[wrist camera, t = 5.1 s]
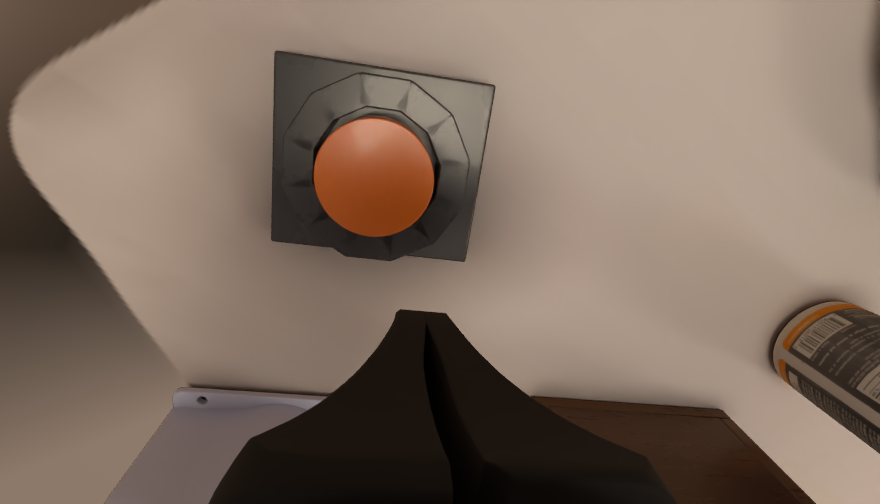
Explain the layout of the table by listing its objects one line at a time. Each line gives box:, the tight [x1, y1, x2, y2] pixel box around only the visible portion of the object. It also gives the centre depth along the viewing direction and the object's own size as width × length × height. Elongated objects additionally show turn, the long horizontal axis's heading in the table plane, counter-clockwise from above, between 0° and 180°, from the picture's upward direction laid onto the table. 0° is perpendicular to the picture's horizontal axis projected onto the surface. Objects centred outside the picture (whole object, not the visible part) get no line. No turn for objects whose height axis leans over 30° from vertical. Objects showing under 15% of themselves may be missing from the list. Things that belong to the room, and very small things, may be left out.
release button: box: [314, 115, 434, 237], centre depth 17 cm, size 4×4×2 cm
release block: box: [271, 51, 495, 262], centre depth 19 cm, size 9×8×3 cm
